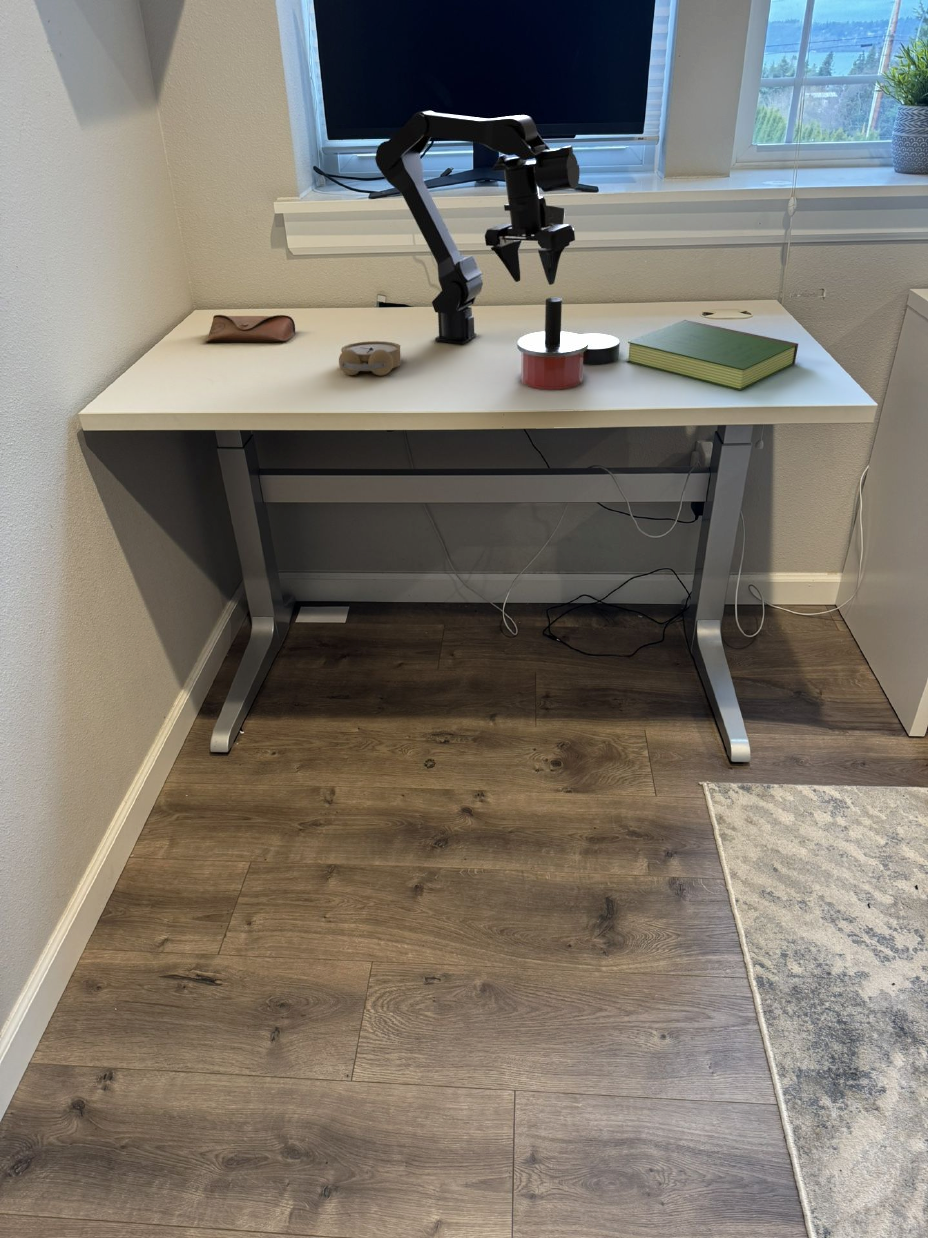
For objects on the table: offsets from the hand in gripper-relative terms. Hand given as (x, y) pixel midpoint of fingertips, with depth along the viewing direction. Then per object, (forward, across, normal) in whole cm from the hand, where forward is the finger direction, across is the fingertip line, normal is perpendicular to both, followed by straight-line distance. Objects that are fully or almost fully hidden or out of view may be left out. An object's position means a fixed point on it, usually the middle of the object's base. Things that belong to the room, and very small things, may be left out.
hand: (534, 282), depth 168 cm
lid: (+6, -16, +12) cm, 21 cm away
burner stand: (+14, -12, -2) cm, 18 cm away
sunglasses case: (+4, +49, +38) cm, 62 cm away
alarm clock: (+8, +14, +32) cm, 36 cm away
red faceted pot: (+12, -15, +13) cm, 23 cm away
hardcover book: (+17, -29, -14) cm, 36 cm away
